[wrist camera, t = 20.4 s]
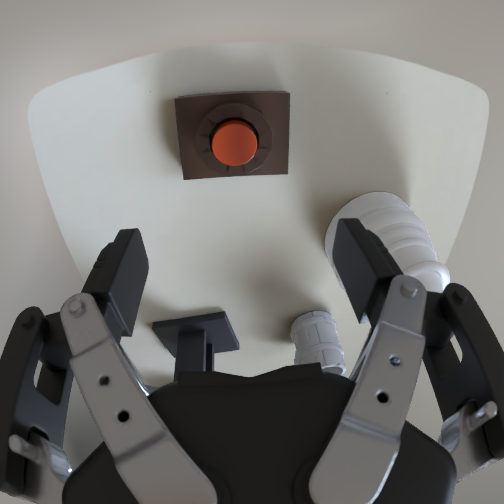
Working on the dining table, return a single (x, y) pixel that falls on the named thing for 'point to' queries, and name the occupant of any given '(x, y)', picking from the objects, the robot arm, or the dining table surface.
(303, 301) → the dining table surface
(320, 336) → the mug
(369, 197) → the honey pot
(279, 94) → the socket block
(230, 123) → the button
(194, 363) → the dark stand
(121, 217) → the dining table surface
